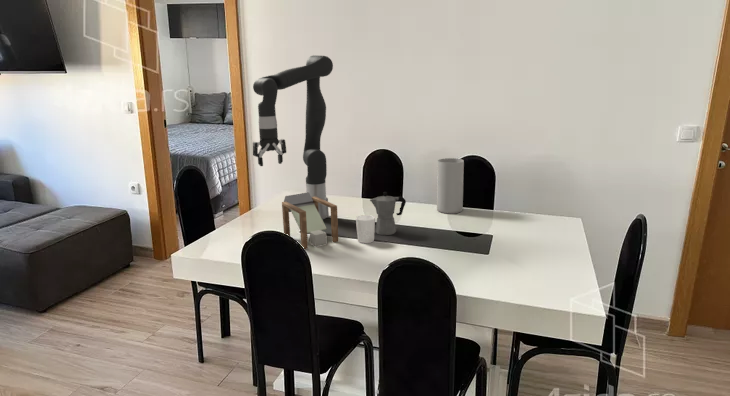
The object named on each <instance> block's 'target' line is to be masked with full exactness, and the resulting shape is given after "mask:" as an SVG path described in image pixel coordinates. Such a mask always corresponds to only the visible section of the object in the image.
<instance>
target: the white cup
mask: <svg viewBox="0 0 730 396" xmlns="http://www.w3.org/2000/svg"><path fill="white" fill-rule="evenodd" d="M355 224H356V227H355V228H356V233H357V241H358V243H360V244H370V243H372V242H374V241H375V234H376V232H375V229H376V216H374V215H371V214H362V215H361V214H360V215H358V216H356V217H355Z"/></svg>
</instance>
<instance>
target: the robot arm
mask: <svg viewBox="0 0 730 396" xmlns="http://www.w3.org/2000/svg"><path fill="white" fill-rule="evenodd" d="M333 64H334V63H333V60H332V59H331V58H330V57H328V56H325V55H310V56H309V57H308V58H307V60H306V63H305V65H302V66H298V67H292V68H288V69H285V70H282V71H280V72H276V73H274V74H271V75H266V76H262V77H260V78H258V79H255V80H254V82H253V85H252V87H253V88H252V89H253V91H254V94H256V95H258V96H262V101H260V102H258V106H257V109H258V130H259V131H258V132H259V141H253V142H252V156H254V157H255V158H257V163H258V165H259V166H260V167H263V166H264V160H263V155H264V154H265V153H266V152H270V151H271V152H273V151H276V153H277V163H278V164H280V165H281V164H282V163H283V161H284V160H283V159H284V157H283V155H284V154H287V146H286V144H287V143H286V140H285V139H284V138H281V139H279V136H278V133H279V132H278V121H277V114H276V102H277V98H278V91H279V90H280V91H281V90H285V89H288V88H290V87H292V86H295V85H298V84H299V83H303V82H305V81H306V106H305V138H304V139H305V140H304V147H303V153H302V160H303V162H304V164H305V165H306V166H307V169H306V170H307V176H306V178H305V188H306V192H305V193H307V192H309V194H310V196H311V198H312V197H315V196H316V197H318V198H321V199H323V200H325V201H327V202H329V198H328V197H327V186H326V183H327V182H326V181H327V180H326V178H327V171H328V170H327V169H328V167H327V157H326V154H325V152H323V151H322V150H321V138H322V133H323V130H324V128H325V124H326V120H327V119H326V118H327V105H326V101H325V98H324V96H323V94H322V90H321V85H320V84H321V78H323V77H327V76H329V75H330V74H332V71H333V69H334V65H333ZM279 145H280V147H281V148H279ZM259 146H260V149H258V148H259ZM318 209H319V215H320V217H321V218H322V220H325V219H327V218H330V217H329V216H330V215H329V207H328V206H325V205H323V204H321V203H319V202H318Z"/></svg>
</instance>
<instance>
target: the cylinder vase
mask: <svg viewBox="0 0 730 396" xmlns="http://www.w3.org/2000/svg"><path fill="white" fill-rule="evenodd" d="M464 167H465V162H464V159H461V158H454V157H449V158H439V159H437V167H436V168H437V169H436V170H437V172H436V173H437V175H436V176H437V179H436V181H437V182H436V184H437V185H436V210H437V211H438V212H440V213H441V214H450V215H451V214H452V215H453V214H458V213H461V212H462V211H463V208H464V207H463V205H464V202H463V201H464V174H465V173H464V170H465V169H464Z"/></svg>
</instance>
